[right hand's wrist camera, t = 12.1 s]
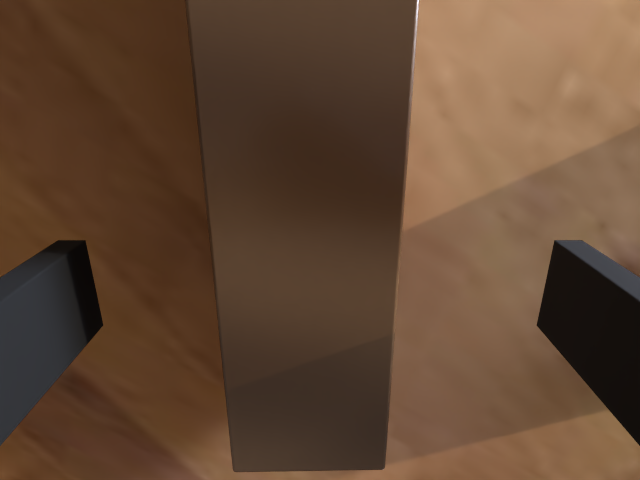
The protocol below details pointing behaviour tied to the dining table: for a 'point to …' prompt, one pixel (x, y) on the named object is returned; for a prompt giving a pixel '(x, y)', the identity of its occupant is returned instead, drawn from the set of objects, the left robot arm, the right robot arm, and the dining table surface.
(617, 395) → the right robot arm
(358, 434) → the plank
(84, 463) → the dining table surface
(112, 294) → the dining table surface
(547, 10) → the dining table surface
